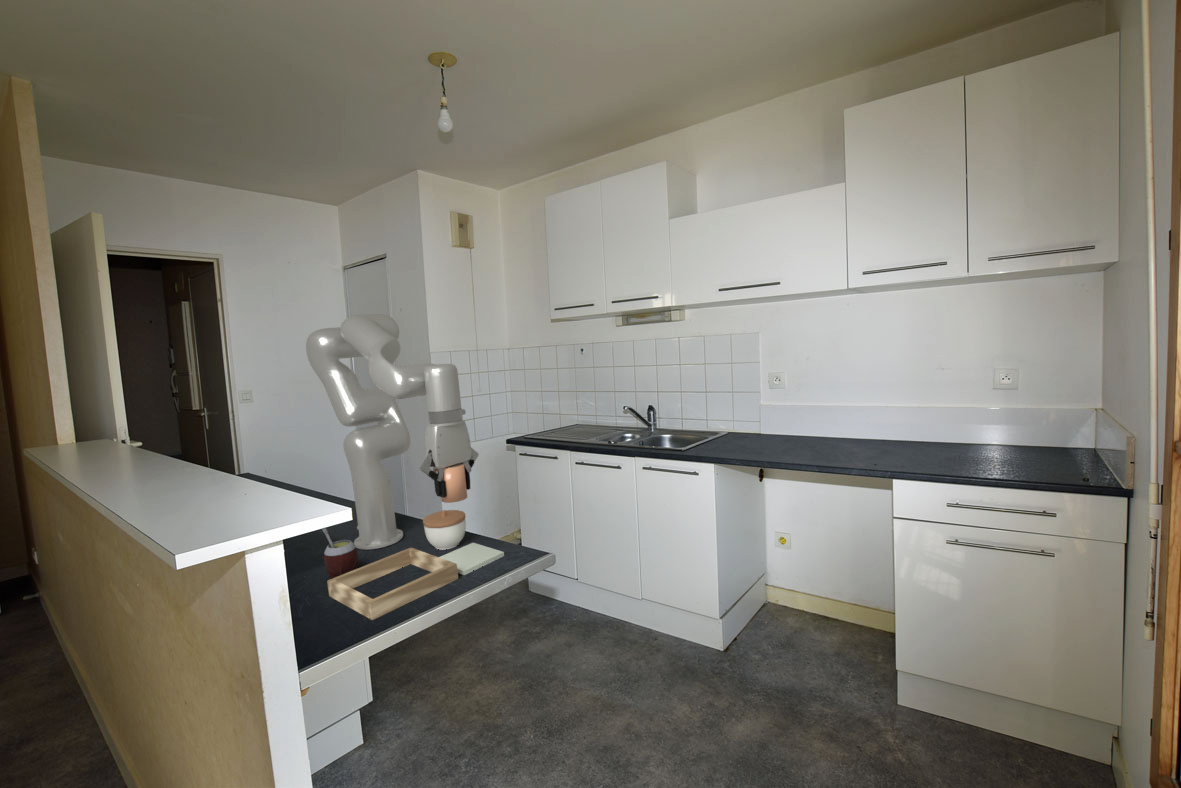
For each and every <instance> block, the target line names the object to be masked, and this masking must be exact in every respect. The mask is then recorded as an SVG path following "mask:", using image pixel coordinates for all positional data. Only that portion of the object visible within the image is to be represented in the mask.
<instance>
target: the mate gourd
mask: <svg viewBox="0 0 1181 788" xmlns="http://www.w3.org/2000/svg"><path fill="white" fill-rule="evenodd" d="M322 533H324V534H325V537H326V539H327V541H328V542H329V544H328V545H327V546H326V548H325V550H324V554H323V562H324V566H325V570H326V572H327V575H328V576H329V577H328V580H330V579H333V578H335V577H338V576H340V575H343V574H345V573H348V572H350V571H353V570H355V569H358V565H359V558H358V557H359V556H358V550H357V549H358V548H356V547H355V544H354V542H353V541H351V540H349V539H341V540H337V541H332V539H331V537H330V535H329V531H328V529H327V528H325V527H324V528H323V529H322Z"/></svg>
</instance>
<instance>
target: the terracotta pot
mask: <svg viewBox="0 0 1181 788" xmlns="http://www.w3.org/2000/svg"><path fill="white" fill-rule="evenodd" d="M438 470H439V469H438ZM442 480H445V485H446V494H447V496H446V497H444V498H443V497H440V499H441V502H442V503H450V504H452V503H457V502H462V501H464V500H466V499H467V498H468V490H467V487H466V478H465V468H464V464H463V463H461V464H457V465H453V466H450V467H446V468H445V469H444V474H443V479H442Z"/></svg>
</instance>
